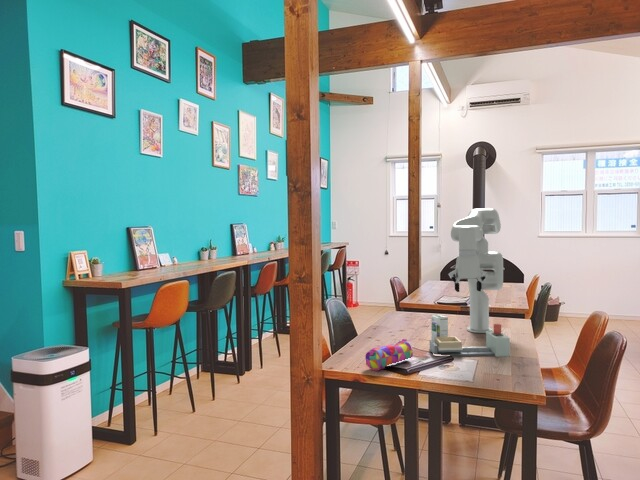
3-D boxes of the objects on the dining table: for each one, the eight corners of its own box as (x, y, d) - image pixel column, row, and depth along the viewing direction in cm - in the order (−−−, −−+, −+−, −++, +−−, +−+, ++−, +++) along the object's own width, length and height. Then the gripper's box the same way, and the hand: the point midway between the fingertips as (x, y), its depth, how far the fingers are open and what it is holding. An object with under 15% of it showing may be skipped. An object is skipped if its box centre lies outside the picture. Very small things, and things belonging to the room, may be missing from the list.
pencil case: (397, 357, 199) (396, 337, 198) (414, 362, 192) (414, 340, 191) (363, 369, 184) (363, 347, 184) (381, 374, 177) (381, 351, 177)
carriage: (433, 347, 207) (433, 336, 207) (456, 347, 207) (456, 336, 207) (438, 353, 198) (438, 342, 198) (462, 353, 197) (462, 341, 197)
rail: (429, 350, 208) (429, 339, 207) (486, 349, 207) (486, 338, 207) (434, 356, 198) (434, 345, 197) (494, 355, 197) (494, 344, 197)
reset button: (492, 339, 203) (492, 323, 203) (499, 339, 203) (499, 323, 203) (495, 341, 200) (495, 325, 200) (502, 341, 200) (502, 325, 200)
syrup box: (430, 345, 215) (430, 315, 215) (441, 344, 217) (440, 314, 217) (438, 348, 210) (437, 317, 209) (448, 347, 212) (448, 316, 211)
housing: (486, 348, 208) (486, 331, 208) (499, 348, 208) (499, 331, 208) (495, 356, 196) (495, 338, 196) (509, 356, 196) (509, 337, 196)
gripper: (483, 252, 209) (483, 289, 209) (446, 253, 208) (446, 290, 209) (490, 253, 201) (490, 292, 202) (451, 254, 201) (451, 293, 201)
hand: (468, 291), depth 205 cm, fingers open, 9 cm apart
